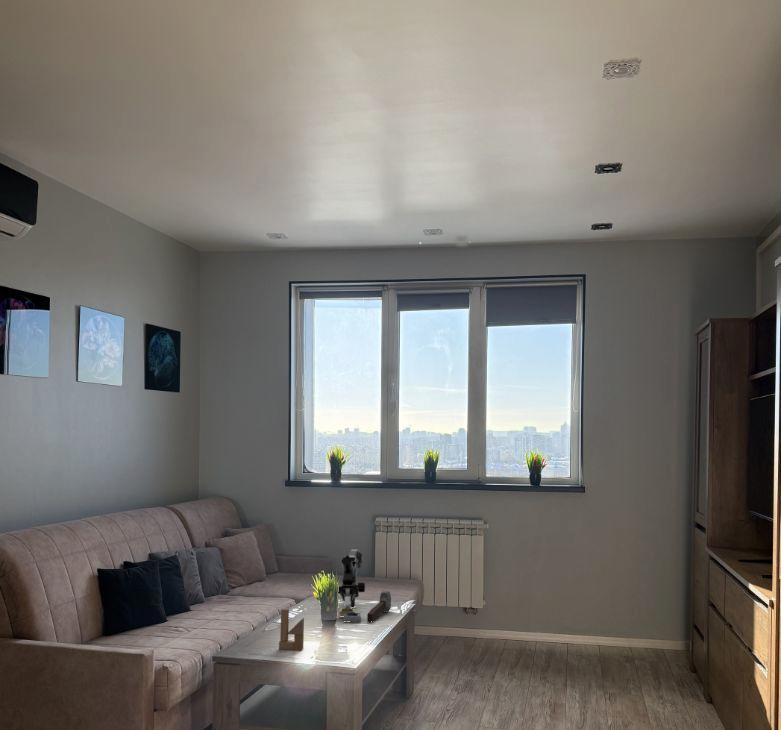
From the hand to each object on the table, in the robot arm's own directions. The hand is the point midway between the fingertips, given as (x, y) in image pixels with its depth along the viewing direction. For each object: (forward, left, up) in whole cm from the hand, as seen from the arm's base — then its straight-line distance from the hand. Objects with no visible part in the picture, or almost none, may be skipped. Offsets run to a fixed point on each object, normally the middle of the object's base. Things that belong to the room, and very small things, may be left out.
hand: (347, 600), depth 431 cm
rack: (-1, 0, -8) cm, 8 cm away
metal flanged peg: (-1, 0, -7) cm, 7 cm away
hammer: (-1, +17, -9) cm, 19 cm away
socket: (+9, +3, -8) cm, 12 cm away
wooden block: (+65, -24, -9) cm, 70 cm away
